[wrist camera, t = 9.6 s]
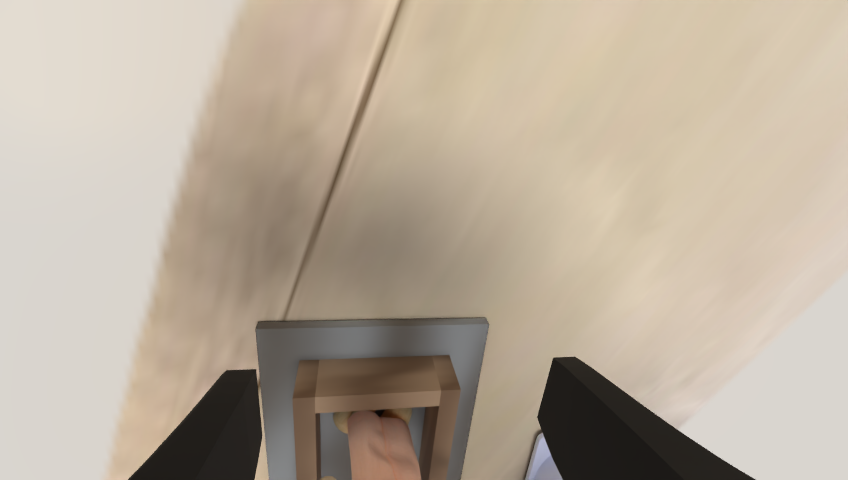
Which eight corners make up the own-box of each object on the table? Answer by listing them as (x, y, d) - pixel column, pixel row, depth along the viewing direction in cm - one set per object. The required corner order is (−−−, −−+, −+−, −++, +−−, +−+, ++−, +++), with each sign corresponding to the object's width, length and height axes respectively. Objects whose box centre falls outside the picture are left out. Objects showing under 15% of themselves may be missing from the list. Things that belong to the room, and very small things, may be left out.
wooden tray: (485, 317, 22) (505, 355, 19) (452, 505, 28) (463, 555, 25) (258, 321, 20) (241, 365, 17) (275, 524, 26) (265, 582, 23)
